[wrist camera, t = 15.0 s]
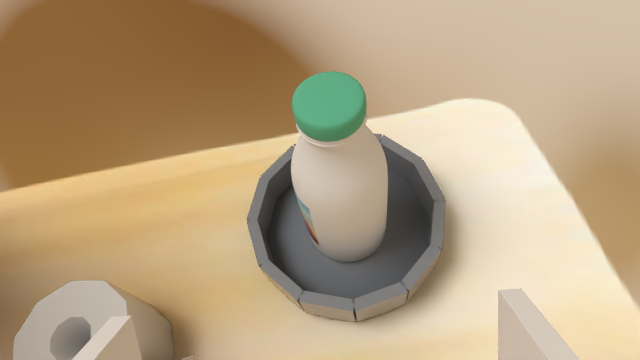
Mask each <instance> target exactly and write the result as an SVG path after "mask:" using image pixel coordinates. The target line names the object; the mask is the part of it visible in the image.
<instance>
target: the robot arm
mask: <svg viewBox="0 0 640 360" xmlns="http://www.w3.org/2000/svg"><path fill="white" fill-rule="evenodd" d="M498 359H499V360H579V358H578V357H577V356H576V355H575V354H574V352H573V351H572V350H571V349H570V348H569V346H568V345H567V344H566V343H565V341H564V340H563V339H562V338H561V337H560V335H559V334H558V333H557V332H556V330H555V329H554V328H553V327H552V326H551V324H550V323H549V322H548V321H547V319H546V318H545V317H544V316H543V315H542V313H541V312H540V311H539V310H538V308H537V307H536V306H535V305H534V304H533V302H532V301H531V300H530V299H529V297H528V296H527V295H526V294H525V293H524V291H523V290H522V289H509V290H498ZM72 360H142V357H141V353H140V349H139V345H138V340H137V336H136V332H135V328H134V324H133V320H132V316H118V317H111V318H110V319H109V320H108V321H107V322H106V323H105V324H104V325H103V327H102V328H101V329H100V330H99V331H98V332H97V333H96V334H95V335H94V336H93V337H92V338H91V340H90V341H89V342H88V343H87V344H86V345H85V346H84V347H83V348H82V349H81V350H80V351H79V353H78V354H77V355H76V356H75V357H74V358H73V359H72Z"/></svg>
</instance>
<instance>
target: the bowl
mask: <svg viewBox="0 0 640 360" xmlns="http://www.w3.org/2000/svg"><path fill="white" fill-rule="evenodd" d="M374 135H375V136H376V138H377V139H378V141H379V142H380V144H381V146H382V149H383V151H384V154H385V157H386V162H387V172H388V196H387V219H386V230H385V235H384V238H383V241H382V243H381V244H380V246H379V247H378V248H377V249H376V251H374V252H373V253H372V254H371V255H369V256H368V257H366V258H364V259H362V260H359V261H355V262H339V261H335V260H332V259H330V258H328V257H326V256H324V255H323V254H322V253H321V252H319V250H318V249H317V248H316V247H315V245H314V244H313V242H312V240H311V237H310V235H309V232H308V229H307V227H306V224H305V221H304V218H303V215H302V212H301V209H300V206H299V203H298V200H297V197H296V194H295V190H294V187H293V183H292V177H291V161H292V155H293V151H294V148H295V146H296V144H294V147H293V146H291V147H290V148H289V149H288V150H287V151H286V152H285V153H284V154H283V155H282V156H281V157H280V158H279V159H278V160H277V161H276V162H275V163H274V164H273V165H272V166H271V167H269V168H268V169H267V170H266V171H265V172H264V173H263V174H262V175H261V177H262V178H259V182H258V185H257V188H256V191H255V195H254V198H253V201H252V204H251V207H250V211H249V214H248V217H247V220H248V221H247V224H248V228H249V232H250V235H251V239H252V243H253V247H254V250H255V254H256V258H257V262H258V265H259V267H260V268H261V270H262V271H263V273H264V274H265V275H266V277H267V278H268V279H269V281H271V282H272V283H273V284H274V285H275V286H276V287H277V288H278V289H279V290H280V291H281V292H282V293H283V294H284V295H285V296H286V297H287V298H288V299H290V300H291V301H292V302H293V303H295V304H296V305H297V306H298V307H299V308H300V309H301V310H303V311H305V312H306V313H310V314H315V315H317V316H320V317H323V318H327V319H331V320H340V321H353V322H355V321H357V322H358V321H360V320H365V319H370V318H373V317H377V316H380V315H383V314H385V313H387V312H389V311H392V310H393V309H395V308H397V307H398V306H401V305H404V304H405V302H408V300H409V299H410V298H411V296H412V295H413V294H414V293H415V292H416V291H417V290H418V289H419V288H420V287H421V285H422V284H423V282H424V280H425V279H426V277H427V276H428V274H429V273H430V272H431V270H432V269H433V268H434V267H435V265H436V263H437V260H438V258H439V255H440V252H441V250H442V244H443V230H444V215H445V201H444V200H445V198H444V196H443V194H442V192H441V191H440V189H439V187H438V185H437V183H436V182H435V180H434V178H433V176H432V175H431V173H430V171H429V169H428V167H427V166H426V164H425V162H424V160H421V159H422V158H421V157H419V156H417V155H416V154H414V153H412V152H411V151H409V150H407V149H406V148H404V147H403V146H401V145H399V144H398V143H396V142H394V141H393V140H391V139H389V138H388V137H386V136H385V135H383V136H382V134H374Z"/></svg>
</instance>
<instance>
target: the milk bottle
mask: <svg viewBox="0 0 640 360" xmlns="http://www.w3.org/2000/svg"><path fill="white" fill-rule="evenodd" d="M292 110H293V115H294V118H295V121H296V125H297V129H298V131H299V133H300V135H301V136H300V138H299V139H298V141H297V144H296V146H295V148H294V151H293V155H292V161H291V177H292V183H293V187H294V190H295V194H296V197H297V200H298V203H299V206H300V209H301V212H302V215H303V218H304V221H305V224H306V227H307V229H308V232H309V235H310V237H311V240H312V242H313V244H314V245H315V247H316V248H317V249H318V250H319V252H321V253H322V254H323V255H324V256H326V257H328V258H330V259H332V260H335V261H339V262H355V261H359V260H362V259H364V258H366V257H368V256H369V255H371V254H372V253H373V252H374V251H376V249H377V248H378V247H379V246H380V244H381V243H382V241H383V238H384V235H385V230H386V219H387V196H388V172H387V162H386V157H385V154H384V151H383V149H382V146H381V144H380V142H379V141H378V139H377V138H376V136H375V135H374V134H373V133H372V131H371V130H370V129H369V128H368V127H367V126H366V125H365V124H366V120H367V114H366V96H365V92H364V90H363V88H362V86H361V84H360V83H359V82H358V81H357V80H356V79H355V78H353V77H351V76H350V75H347V74H345V73H340V72H323V73H318V74H315V75H313V76H311V77H309V78H307V79H306V80H305V81H303V82H302V83H301V84H300V85H299V86H298V87H297V89H296V91H295V93H294V95H293V100H292Z"/></svg>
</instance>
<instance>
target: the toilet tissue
mask: <svg viewBox="0 0 640 360" xmlns="http://www.w3.org/2000/svg"><path fill="white" fill-rule="evenodd" d="M118 316H132V320H133V324H134V328H135V332H136V336H137V340H138V345H139V349H140V353H141V357H142V360H172V359H173V356H174V345H173V336H172V327H171V323H170V322H169V321H168V320H167V319H166V318H165V317H164V316H162V315H161V314H160V313H159V312H158V311H157V310H156V309H155V308H154V307H153V306H152V305H150V304H148V303H146V302H144V301H142V300H140V299H138V298H136V297H135V296H133V295H131V294H129V293H127V292H125V291H123V290H121V289H120V288H118V287H116V286H114V285H112V284H110V283H108V282H106V281H104V280H93V281H70V282H68V283H67V284H65V285H64V286H62V287H60V288H59V289H57V290H56V291H54V292H53V293H51V294H49V295H48V296H46V297H45V298H43V299H41V300H40V301H38V302H37V303H36V305H35V306H34V308H33V310H32V311H31V313H30V314H29V316H28V317H27V319H26V320H25V322H24V324H23V325H22V327H21V328H20V330H19V331H18V333H17V335H16V336H15V338H14V346H13V360H72V359H73V358H74V357H75V356H76V355H77V354H78V353H79V351H80V350H81V349H82V348H83V347H84V346H85V345H86V344H87V343H88V342H89V341H90V340H91V338H92V337H93V336H94V335H95V334H96V333H97V332H98V331H99V330H100V329H101V328H102V327H103V325H104V324H105V323H106V322H107V321H108V320H109V319H110V318H111V317H118ZM181 360H194V354H193V355H191V356H188V357H186V358H183V359H181Z"/></svg>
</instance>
